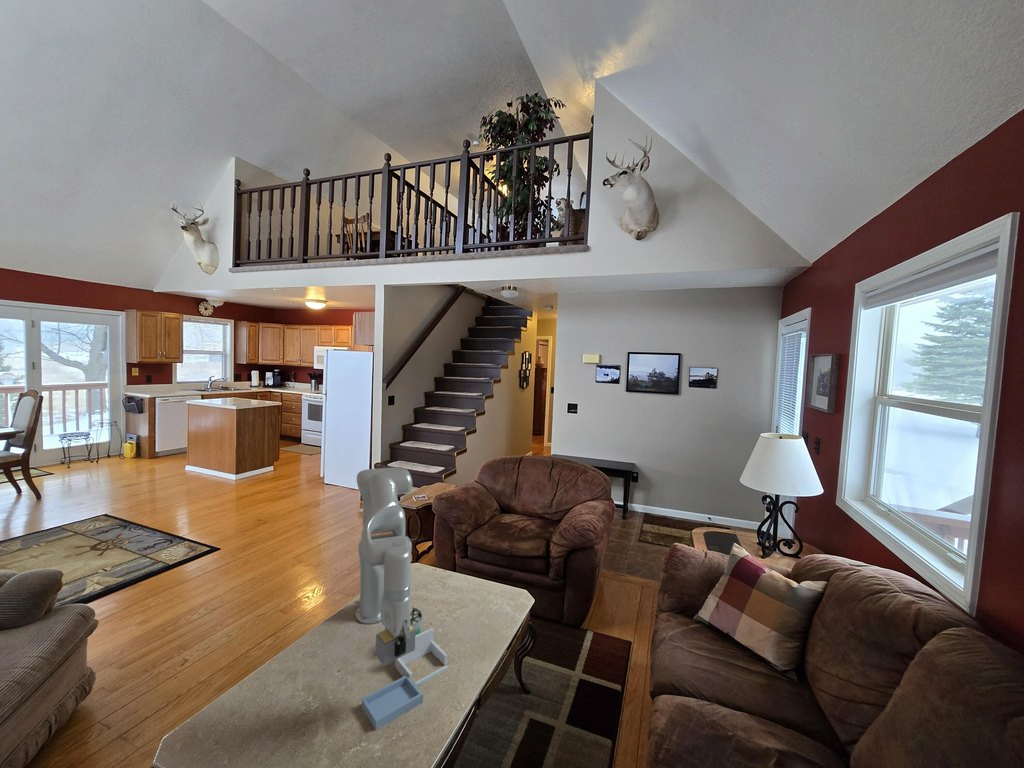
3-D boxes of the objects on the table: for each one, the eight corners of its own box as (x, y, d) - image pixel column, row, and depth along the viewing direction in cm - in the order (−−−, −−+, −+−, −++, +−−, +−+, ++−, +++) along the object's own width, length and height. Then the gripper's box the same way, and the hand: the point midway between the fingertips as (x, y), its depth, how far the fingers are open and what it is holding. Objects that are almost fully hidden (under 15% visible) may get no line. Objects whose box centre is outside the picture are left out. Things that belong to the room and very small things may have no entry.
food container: (414, 658, 148) (414, 630, 147) (397, 654, 150) (398, 627, 149) (428, 634, 160) (428, 609, 159) (412, 631, 162) (413, 606, 161)
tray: (361, 706, 128) (361, 698, 128) (406, 682, 138) (407, 674, 138) (375, 730, 121) (376, 721, 120) (422, 702, 131) (423, 694, 130)
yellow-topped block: (375, 655, 127) (376, 633, 126) (406, 640, 134) (407, 619, 133) (383, 665, 123) (384, 642, 122) (414, 649, 130) (415, 627, 129)
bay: (395, 667, 144) (395, 644, 143) (431, 648, 153) (432, 627, 152) (412, 689, 135) (413, 665, 134) (450, 668, 145) (451, 645, 144)
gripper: (371, 582, 130) (370, 638, 132) (399, 609, 118) (397, 672, 119) (394, 573, 135) (393, 628, 137) (423, 599, 123) (421, 659, 124)
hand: (395, 648), depth 128 cm, fingers closed on yellow-topped block, 5 cm apart
